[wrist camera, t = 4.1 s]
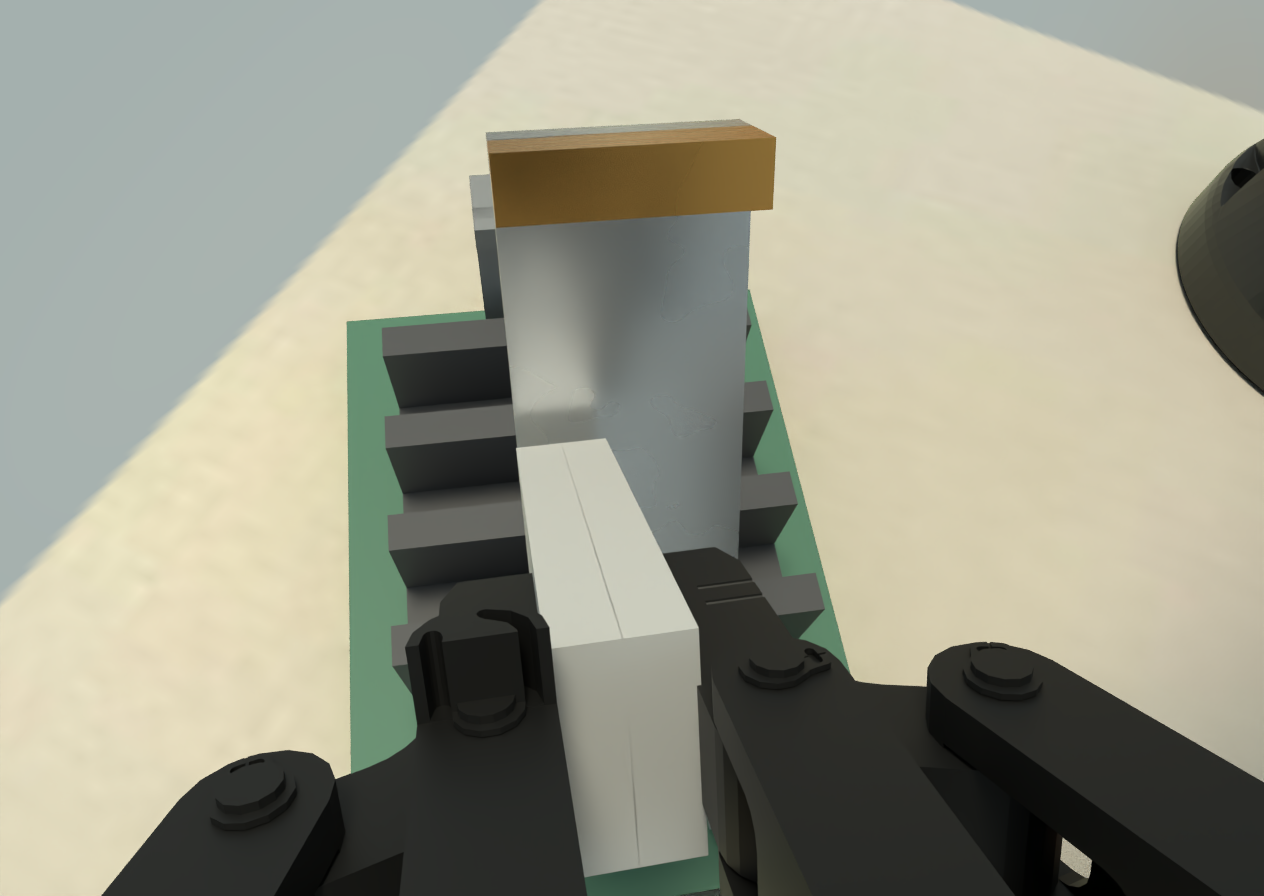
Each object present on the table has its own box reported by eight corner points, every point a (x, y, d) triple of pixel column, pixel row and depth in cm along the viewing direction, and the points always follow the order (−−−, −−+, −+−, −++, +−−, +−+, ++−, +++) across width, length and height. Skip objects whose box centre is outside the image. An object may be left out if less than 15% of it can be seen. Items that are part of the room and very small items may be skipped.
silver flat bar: (733, 116, 14) (775, 137, 12) (717, 764, 21) (742, 841, 19) (485, 129, 14) (488, 153, 12) (550, 790, 21) (559, 872, 19)
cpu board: (742, 312, 35) (799, 126, 27) (881, 859, 26) (1032, 837, 18) (355, 345, 33) (286, 154, 25) (363, 949, 24) (260, 972, 16)
